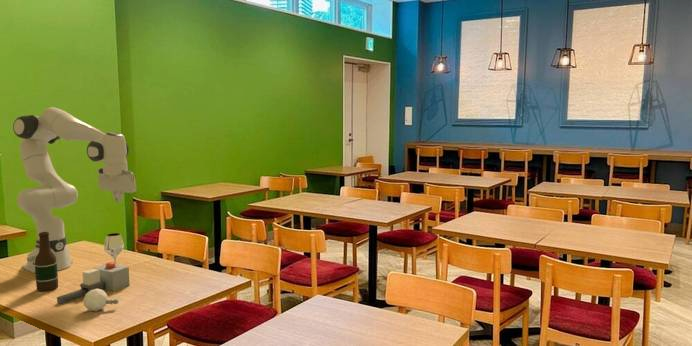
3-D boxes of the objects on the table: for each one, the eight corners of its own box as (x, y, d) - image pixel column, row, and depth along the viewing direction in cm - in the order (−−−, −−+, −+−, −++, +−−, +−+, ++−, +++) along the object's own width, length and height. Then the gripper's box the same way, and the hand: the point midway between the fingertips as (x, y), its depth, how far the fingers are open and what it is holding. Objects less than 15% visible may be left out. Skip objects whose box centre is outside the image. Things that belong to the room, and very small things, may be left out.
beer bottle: (48, 293, 203) (44, 235, 200) (32, 291, 204) (27, 234, 202) (62, 286, 210) (59, 230, 208) (47, 285, 212) (43, 229, 209)
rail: (57, 303, 192) (56, 297, 191) (101, 288, 208) (101, 282, 208) (61, 304, 191) (60, 298, 190) (105, 289, 207) (105, 283, 207)
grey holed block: (93, 286, 211) (92, 268, 210) (110, 280, 218) (109, 262, 217) (113, 291, 205) (112, 272, 204) (129, 285, 212) (128, 266, 211)
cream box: (80, 292, 202) (79, 271, 201) (94, 287, 207) (92, 267, 206) (90, 294, 199) (89, 274, 198) (103, 290, 205) (102, 269, 204)
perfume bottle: (86, 296, 190) (121, 297, 193) (81, 315, 184) (116, 315, 187) (85, 284, 185) (120, 285, 188) (79, 303, 179) (116, 304, 182)
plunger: (105, 284, 211) (103, 263, 210) (112, 281, 214) (111, 261, 213) (110, 285, 209) (109, 265, 208) (118, 283, 212) (117, 262, 211)
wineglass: (126, 274, 227) (124, 235, 225) (107, 277, 222) (105, 237, 220) (123, 269, 234) (121, 231, 231) (104, 272, 229) (102, 234, 227)
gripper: (139, 170, 215) (140, 202, 217) (107, 168, 225) (109, 198, 226) (127, 172, 210) (128, 204, 211) (94, 169, 219) (96, 200, 221)
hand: (118, 201), depth 219 cm, fingers closed
